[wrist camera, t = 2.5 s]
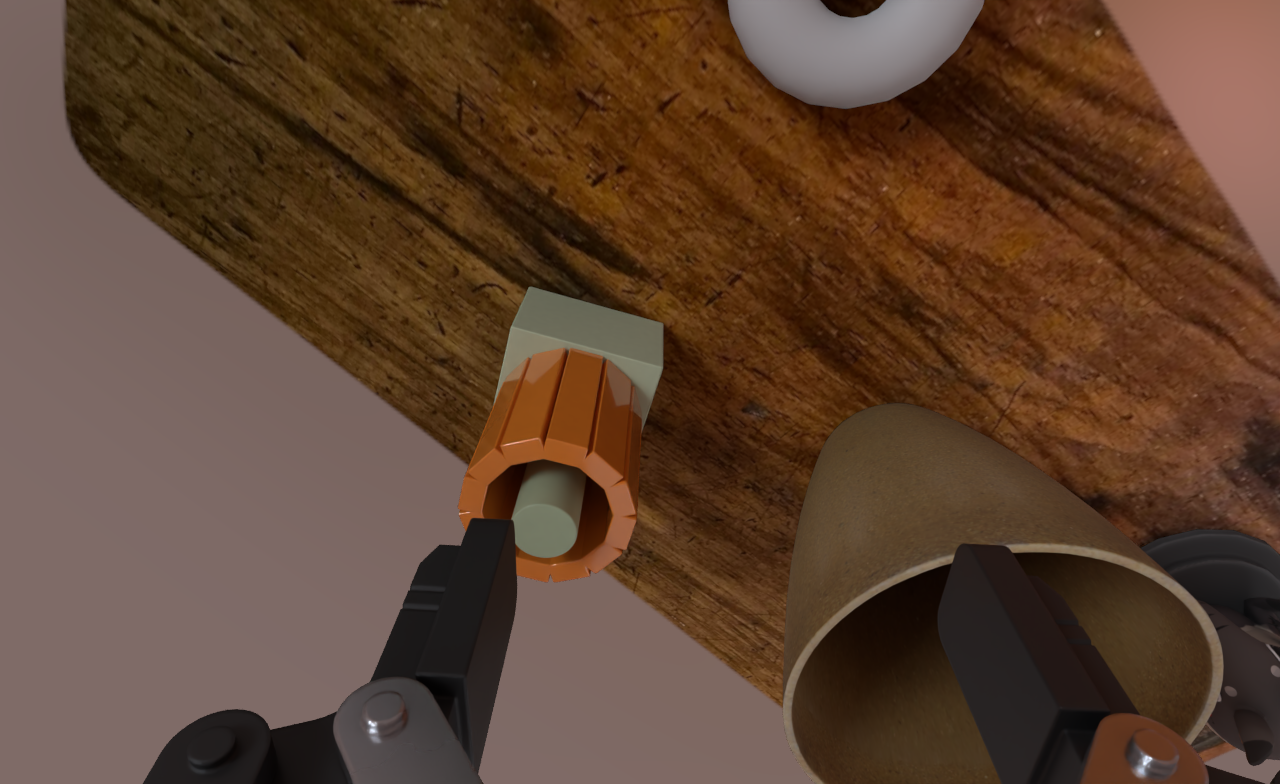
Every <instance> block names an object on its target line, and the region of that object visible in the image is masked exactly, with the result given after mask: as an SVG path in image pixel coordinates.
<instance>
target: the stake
mask: <svg viewBox="0 0 1280 784" xmlns="http://www.w3.org/2000/svg"><path fill="white" fill-rule="evenodd" d="M560 348H565V349H566V351H567V355H568V353H569V349H570V348H575V349H578V350H582V351H586V352H589V353H593V354H597V355H600V356H603V363H604V362H605V361H606V360H607V359H609V360H610V361H611V362H612V363H613V364H614V365H615V366H616V367H617V368H618V369H619V370H621V371H622V372H623V373H624V374H625V375H626V376H627V377H628V378H629V379H630V380H631V381H632V382H631V386H634V387H635V389H636V393H637V396H638V400H639V403H640V407H641V410H642V430H643V427H644V424H645V421H646V418H647V415H648V413H649V410H650V407H651V404H652V401H653V398H654V395H655V392H656V389H657V386H658V383H659V380H660V377H661V374H662V371H663V323H660V322H656V321H653V320H649V319H645V318H642V317H638V316H635V315H631V314H627V313H624V312H620V311H617V310H613V309H609V308H606V307H602V306H599V305H595V304H591V303H588V302H584V301H581V300H577V299H573V298H570V297H566V296H563V295H559V294H555V293H552V292H548V291H544V290H541V289H537V288H534V287H529V288H528V291H527V293H526V295H525V297H524V299H523V302H522V304H521V306H520V308H519V310H518V313H517V315H516V317H515V319H514V321H513V324H512V326H511V329H510V333H509V338H508V342H507V347H506V351H505V356H504V360H503V365H502V369H501V374H500V378H499V383H498V387H497V392H496V396H495V400H494V403H495V401H496V398H497V396H498V393H499V391H500V388H501V386H502V384H503V382H504V381H505V379H506V377H507V376H508V375H509V374H510V373H511V372H512V371H513V370H514V369H515V368H516V367H517V366H519V365H520V364H521V363H522V362H523V361H524V360H525V359H526V358H528V357H529V358H530V359H531V358H532V356H533V354H537V353H542V352H546V351H551V350H556V349H560ZM603 363H602V364H603ZM493 406H494V405H493ZM641 433H642V432H641ZM586 477H587V474H586V473H584V472H583V471H582V470H581V469H580V468H577V467H574V466H570V465H566V464H562V463H558V462H554V461H550V460H546V459H541V460H536V461H531V462H528V463H527V467H526V470H525V473H524V477H523V480H522V484H521V487H520V491H519V494H518V498H517V501H516V505H515V508H514V512H513V515H512V519H511V520H513V521H514V527H515V544H516V545H517V546H518V547H519V548H520V549H521V550H522V551H524V552H526V553H527V554H530V555H532V556H535V557H540V558H551V557H556V556H559V555H562V554H564V553H565V552H567V551H568V550H569V549H570V548H571V547H572V546H573V545H574V543H575V541H576V539H577V534H578V527H579V521H580V515H581V509H582V502H583V496H584V490H585V484H586Z"/></svg>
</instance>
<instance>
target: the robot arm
mask: <svg viewBox="0 0 1280 784" xmlns="http://www.w3.org/2000/svg"><path fill="white" fill-rule="evenodd" d="M516 598H517V570H516V547H515V527H514V521H513V520H509V519H489V518H472V519H471V520H470V522H469V524H468V527H467V530H466V533H465V536H464V538H463V541H462V544H461V546H455V545H439V546H438V547H437V548H436V549H435V550H434V551H433V552H432V553H431V554H429V555H428V556H427V557H426V558H425V559H424V560H423V561H422V562H421V563H420V565H419V567H418V569H417V572H416V574H415V576H414V579H413V581H412V584H411V586H410V591H408V594H407V596H406V598H405V600H404V603H403V608H402V609H401V610H400V612H399V615H398V617H397V619H396V622H395V624H394V627H393V629H392V631H391V634H390V636H389V639H388V641H387V644H386V646H385V648H384V651H383V653H382V655H381V658H380V660H379V663H378V665H377V667H376V670H375V672H374V674H373V677H372V679H371V681H370V682H369V683H367V684H365V685H364V686H362V687H360V688H359V689H357V690H356V691H354V692H353V693H352V694H351V695H350V696H348V697H347V699H346V700H345V701H344V702H343V703H342V704H341V706H340V708H339V709H338V711H337V712H335V713H333V714H330V715H328V716H326V717H323V718H319V719H316V720H312V721H308V722H303V723H299V724H294V725H290V726H286V727H282V728H277V729H272V730H270V729H269V726H268V724H267V723H266V721H265V720H264V719H263V718H262V717H261V716H259V715H258V714H256V713H254V712H251V711H247V710H238V709H235V710H225V711H220V712H216V713H213V714H210V715H207V716H205V717H202V718H200V719H198V720H196V721H194V722H193V723H191V724H189V725H188V726H187V727H185V728H184V729H182V730H181V731H180V732H179V733H177V735H175V736H174V737H173V738H172V739H171V740H170V741H169V743H168V744H167V745H166V746H165V748H164V749H163V750H162V752H161V754H160V755H159V757H158V759H157V760H156V762H155V764H154V766H153V768H152V769H151V771H150V772H149V774H148V776H147V778H146V779H145V781H144V783H143V784H483V782H482V780H481V779H480V777H479V775H478V771H479V767H480V763H481V758H482V754H483V750H484V746H485V741H486V737H487V733H488V728H489V724H490V720H491V715H492V711H493V707H494V703H495V698H496V694H497V690H498V685H499V681H500V677H501V672H502V668H503V664H504V659H505V655H506V651H507V646H508V643H509V638H510V634H511V630H512V625H513V621H514V616H515V608H516V600H517V599H516ZM938 631H939V636H940V640H941V643H942V646H943V648H944V650H945V653H946V655H947V657H948V660H949V662H950V664H951V667H952V669H953V671H954V674H955V676H956V678H957V681H958V683H959V685H960V688H961V690H962V692H963V695H964V697H965V699H966V702H967V704H968V706H969V709H970V711H971V713H972V716H973V718H974V720H975V723H976V725H977V727H978V730H979V732H980V735H981V737H982V739H983V742H984V744H985V746H986V749H987V751H988V753H989V756H990V758H991V760H992V763H993V765H994V767H995V770H996V772H997V774H998V777H999V779H1000V781H1001V784H1265V783H1262V782H1258V781H1255V780H1252V779H1249V778H1245V777H1242V776H1239V775H1235V774H1232V773H1229V772H1226V771H1223V770H1219V769H1216V768H1213V767H1210V766H1207V765H1205V764H1204V762H1203V760H1202V759H1201V757H1200V756H1199V754H1198V753H1197V752H1196V751H1195V749H1194V748H1193V747H1192V746H1191V745H1190V744H1189V743H1188V742H1187V741H1186V740H1185V739H1183V738H1182V737H1181V736H1180V735H1178V734H1177V733H1176V732H1174V731H1173V730H1171V729H1170V728H1168V727H1166V726H1164V725H1163V724H1161V723H1159V722H1157V721H1154V720H1152V719H1150V718H1147V717H1144V716H1141V715H1140V714H1139V712H1138V711H1137V709H1136V708H1135V706H1134V705H1133V703H1132V701H1131V700H1130V698H1129V697H1128V695H1127V694H1126V692H1125V691H1124V689H1123V688H1122V686H1121V685H1120V683H1119V682H1118V680H1117V679H1116V677H1115V676H1114V674H1113V673H1112V671H1111V670H1110V668H1109V667H1108V665H1107V663H1106V662H1105V660H1104V659H1103V657H1102V656H1101V654H1100V653H1099V651H1098V650H1097V648H1096V647H1095V646H1094V645H1092V644H1091V639H1090V638H1089V636H1088V635H1087V633H1086V632H1085V630H1084V629H1083V627H1082V626H1079V624H1078V619H1077V618H1076V616H1075V615H1074V613H1073V612H1072V610H1071V609H1070V607H1069V606H1068V604H1067V603H1066V601H1065V600H1064V598H1063V597H1062V596H1061V595H1060V594H1058V593H1057V592H1056V591H1055V590H1054V589H1052V588H1051V587H1050V586H1049V585H1048V584H1047V583H1045V582H1044V581H1043V580H1042V579H1041V578H1039V577H1038V576H1029V575H1026V574H1025V572H1024V570H1023V569H1022V567H1021V566H1020V564H1019V562H1018V561H1017V559H1016V558H1015V556H1014V554H1013V553H1012V551H1011V550H1010V549H1009V548H1008V547H1007V546H1004V545H985V544H965V543H963V544H961V545H959V547H958V548H957V550H956V552H955V555H954V559H953V562H952V565H951V568H950V572H949V575H948V578H947V582H946V585H945V588H944V591H943V595H942V598H941V601H940V605H939V609H938ZM1270 784H1280V771H1279V772H1278V773H1277V774H1276V775H1275V777H1274V778H1273V780H1272V781H1271V783H1270Z"/></svg>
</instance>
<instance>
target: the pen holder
mask: <svg viewBox="0 0 1280 784" xmlns="http://www.w3.org/2000/svg"><path fill="white" fill-rule="evenodd" d="M602 363H603V356H600V355H597V354H593V353H589V352H586V351H582V350H578V349H575V348H570V349H569V353H568V355H567V351H566V349H565V348H560V349H556V350H551V351H546V352H542V353H537V354H533V356H532V358H531V359H530V358H529V357H528V358H526V359H525V360H524V361H523V362H522V363H521V364H520V365H519V366H517V367H516V368H515V369H514V370H513V371H512V372H511V373H510V374H509V375H508V376H507V377H506V379H505V381H504V382H503V384H502V386H501V388H500V391H499V393H498V396H497V398H496V401H495V403H494V406H493V408H492V410H491V413H490V415H489V418H488V420H487V423H486V425H485V428H484V430H483V432H482V435H481V437H480V440H479V442H478V445H477V447H476V450H475V452H474V454H473V457H472V459H471V462H470V464H469V467H468V469H467V472H466V474H465V477H464V480H463V485H462V490H461V494H460V499H459V504H458V509H460V511H459V517H460V519H461V521H462V524H463V526H464V528H465V530H467V527H468V524H469V522H470V520H471V519H472V518H489V519H509V520H511V519H512V515H513V512H514V508H515V505H516V501H517V498H518V494H519V491H520V487H521V484H522V480H523V477H524V473H525V470H526V467H527V463H528V462H531V461H536V460H541V459H546V460H550V461H554V462H558V463H562V464H566V465H570V466H574V467H577V468H580V469H581V470H582V471H583V472H584V473H586V474H587V477H586V484H585V490H584V496H583V502H582V509H581V515H580V521H579V527H578V534H577V539H576V541H575V543H574V545H573V546H572V547H571V548H570V549H569V550H568V551H567V552H565V553H564V554H562V555H559V556H556V557H551V558H540V557H535V556H532V555H530V554H527V553H526V552H524V551H522V550H521V549H520V548H519V547H518V546H517V545H516V544H515V547H516V570H517V576H521V577H525V578H530V579H534V580H538V581H542V582H548V581H549V577H550V575H551V577H552V580H553V582H561V581H567V580H572V579H578V578H584V577H589V576H590V572H591V571H592V572H594V573H598V572H599V571H600V570H602V569H603V568H604V567H606V566H607V565H608V564H610V563H611V562H612V561H614V560H615V559H616V558H618V557H619V556H620V555H622V553H623V550H626V549H627V546H628V544H629V541H630V538H631V535H632V532H633V530H634V527H635V524H636V521H637V508H638V489H639V470H640V451H641V432H642V410H641V407H640V403H639V400H638V396H637V393H636V389H635V387H634V386H631V382H632V381H631V380H630V379H629V378H628V377H627V376H626V375H625V374H624V373H623V372H622V371H621V370H619V369H618V368H617V367H616V366H615V365H614V364H613V363H612V362H611V361H610V360H609V359H607V360H606V361H605V362H604V363H603V364H602Z"/></svg>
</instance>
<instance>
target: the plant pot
mask: <svg viewBox="0 0 1280 784" xmlns="http://www.w3.org/2000/svg"><path fill="white" fill-rule="evenodd" d="M963 543H965V544H985V545H1004V546H1007V547H1008V548H1009V549H1010V550H1011V551H1012V553H1013V554H1014V556H1015V558H1016V559H1017V561H1018V562H1019V564H1020V566H1021V567H1022V569H1023V570H1024V572H1025V574H1026V575H1029V576H1038V577H1039V578H1041V579H1042V580H1043V581H1044V582H1045V583H1047V584H1048V585H1049V586H1050V587H1051V588H1052V589H1054V590H1055V591H1056V592H1057V593H1058V594H1060V595H1061V596H1062V597H1063V598H1064V600H1065V601H1066V603H1067V604H1068V606H1069V607H1070V609H1071V610H1072V612H1073V613H1074V615H1075V616H1076V618H1077V619H1078V624H1079V626H1082V627H1083V629H1084V630H1085V632H1086V633H1087V635H1088V636H1089V638H1090V639H1091V644H1092V645H1094V646H1095V647H1096V648H1097V650H1098V651H1099V653H1100V654H1101V656H1102V657H1103V659H1104V660H1105V662H1106V663H1107V665H1108V667H1109V668H1110V670H1111V671H1112V673H1113V674H1114V676H1115V677H1116V679H1117V680H1118V682H1119V683H1120V685H1121V686H1122V688H1123V689H1124V691H1125V692H1126V694H1127V695H1128V697H1129V698H1130V700H1131V701H1132V703H1133V705H1134V706H1135V708H1136V709H1137V711H1138V712H1139V714H1140V715H1141V716H1144V717H1147V718H1150V719H1152V720H1154V721H1157V722H1159V723H1161V724H1163V725H1164V726H1166V727H1168V728H1170V729H1171V730H1173V731H1174V732H1176V733H1177V734H1178V735H1180V736H1181V737H1182V738H1183V739H1185V740H1186V741H1187V742H1188V743H1189V744H1190V745H1191V743H1192V742H1193V741H1194V739H1195V738H1196V737H1197V735H1198V734H1199V733H1200V731H1201V730H1202V729H1203V727H1204V726H1205V724H1206V722H1207V721H1208V719H1209V717H1210V715H1211V714H1212V712H1213V710H1214V708H1215V705H1216V702H1217V700H1218V697H1219V694H1220V691H1221V686H1222V681H1223V669H1224V664H1223V653H1222V647H1221V643H1220V640H1219V637H1218V634H1217V631H1216V629H1215V627H1214V625H1213V623H1212V621H1211V619H1210V618H1209V616H1208V614H1207V613H1206V611H1205V610H1204V609H1203V607H1202V606H1201V605H1200V603H1199V602H1198V601H1197V600H1196V599H1195V598H1194V597H1193V596H1192V595H1191V594H1190V593H1189V592H1188V591H1187V590H1186V589H1185V588H1184V587H1183V586H1181V585H1180V584H1179V583H1178V582H1177V581H1176V580H1175V579H1174V578H1173V577H1172V576H1171V575H1170V574H1168V573H1167V572H1166V571H1165V570H1164V569H1163V568H1162V567H1161V566H1160V565H1159V564H1157V563H1156V562H1155V561H1154V560H1153V559H1152V558H1151V557H1150V556H1148V555H1147V554H1146V553H1145V552H1144V551H1143V550H1142V549H1140V548H1139V547H1138V546H1137V545H1136V544H1135V543H1134V542H1132V541H1131V540H1130V539H1129V538H1128V537H1127V536H1126V535H1124V534H1123V533H1122V532H1121V531H1120V530H1119V529H1117V528H1116V527H1115V526H1114V525H1112V524H1111V523H1110V522H1109V521H1108V520H1106V519H1105V518H1104V517H1103V516H1101V515H1100V514H1099V513H1098V512H1097V511H1095V510H1094V509H1093V508H1091V507H1090V506H1089V505H1087V504H1086V503H1085V502H1083V501H1082V500H1081V499H1080V498H1078V497H1077V496H1076V495H1074V494H1073V493H1072V492H1070V491H1069V490H1068V489H1066V488H1065V487H1064V486H1062V485H1061V484H1059V483H1058V482H1057V481H1055V480H1054V479H1052V478H1051V477H1050V476H1048V475H1047V474H1045V473H1044V472H1042V471H1041V470H1039V469H1038V468H1037V467H1035V466H1034V465H1032V464H1031V463H1029V462H1028V461H1026V460H1025V459H1023V458H1022V457H1020V456H1019V455H1017V454H1015V453H1014V452H1012V451H1010V450H1009V449H1007V448H1005V447H1004V446H1002V445H1001V444H999V443H997V442H995V441H994V440H992V439H990V438H988V437H987V436H985V435H983V434H981V433H979V432H977V431H975V430H973V429H971V428H969V427H967V426H965V425H963V424H961V423H959V422H957V421H955V420H953V419H950V418H948V417H946V416H944V415H941V414H939V413H937V412H934V411H931V410H929V409H926V408H923V407H921V406H916V405H912V404H903V403H888V404H882V405H878V406H873V407H870V408H867V409H864V410H862V411H860V412H858V413H856V414H854V415H853V416H851V417H849V418H847V419H846V420H845V421H843V422H842V423H841V424H840V425H839V426H838V427H837V428H836V429H835V430H834V431H833V432H832V433H831V435H830V436H829V437H828V439H827V440H826V442H825V444H824V446H823V448H822V450H821V452H820V455H819V457H818V460H817V463H816V465H815V468H814V471H813V473H812V476H811V479H810V482H809V485H808V489H807V492H806V496H805V499H804V503H803V507H802V511H801V514H800V519H799V524H798V528H797V533H796V538H795V544H794V550H793V555H792V561H791V569H790V577H789V585H788V594H787V605H786V623H785V643H784V671H783V720H784V729H785V734H786V738H787V741H788V744H789V746H790V749H791V751H792V753H793V755H794V757H795V759H796V760H797V761H798V763H799V765H800V766H801V768H802V769H803V770H804V772H805V773H806V775H807V776H808V777H809V778H810V779H811V780H812V781H813V782H814V783H815V784H1001V781H1000V779H999V777H998V774H997V772H996V770H995V767H994V765H993V763H992V760H991V758H990V756H989V753H988V751H987V749H986V746H985V744H984V742H983V739H982V737H981V735H980V732H979V730H978V727H977V725H976V723H975V720H974V718H973V716H972V713H971V711H970V709H969V706H968V704H967V702H966V699H965V697H964V695H963V692H962V690H961V688H960V685H959V683H958V681H957V678H956V676H955V674H954V671H953V669H952V667H951V664H950V662H949V660H948V657H947V655H946V653H945V650H944V648H943V646H942V643H941V640H940V636H939V631H938V609H939V605H940V601H941V598H942V595H943V591H944V588H945V585H946V582H947V578H948V575H949V572H950V568H951V565H952V562H953V559H954V555H955V552H956V550H957V548H958V547H959V545H961V544H963Z"/></svg>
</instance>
